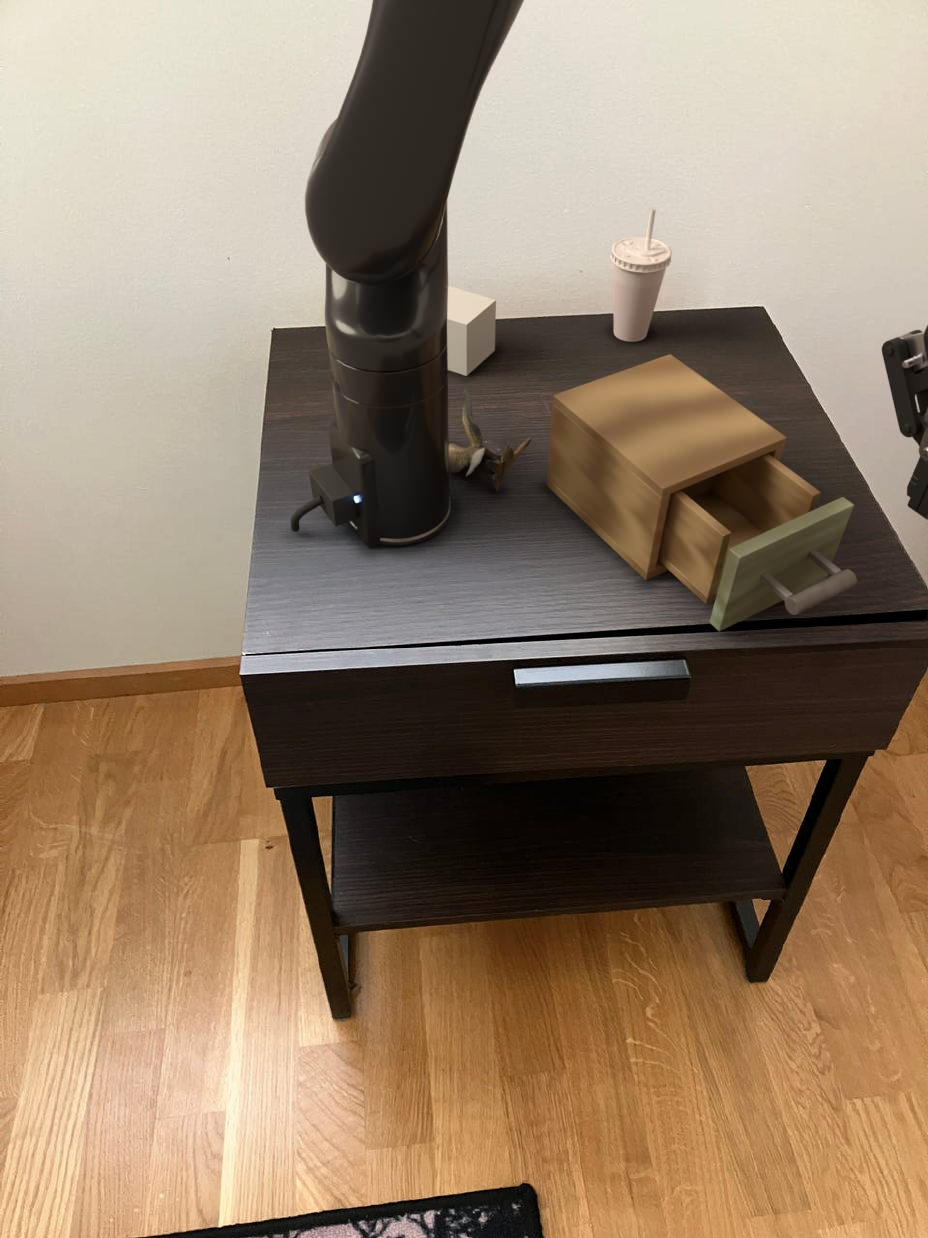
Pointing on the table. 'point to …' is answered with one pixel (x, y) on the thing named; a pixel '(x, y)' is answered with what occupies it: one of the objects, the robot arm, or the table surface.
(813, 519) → the drawer
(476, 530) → the table surface
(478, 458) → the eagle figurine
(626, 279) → the smoothie
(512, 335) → the table surface
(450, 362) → the white cube
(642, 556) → the cabinet
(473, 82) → the robot arm
